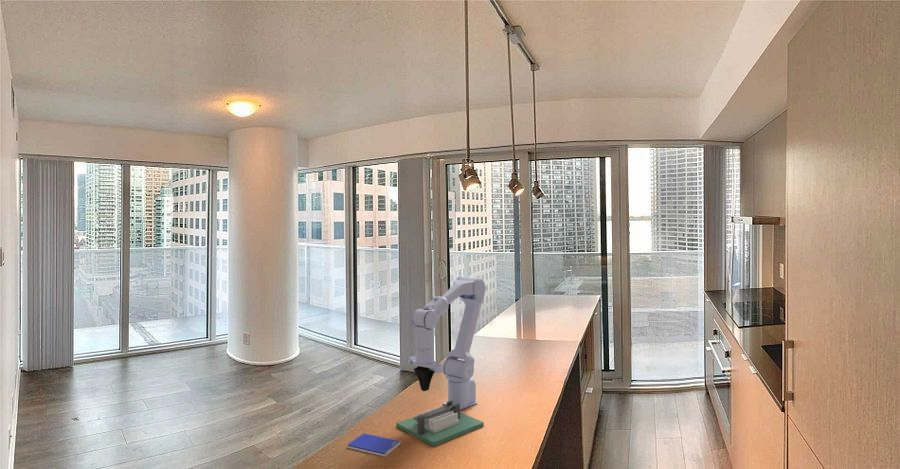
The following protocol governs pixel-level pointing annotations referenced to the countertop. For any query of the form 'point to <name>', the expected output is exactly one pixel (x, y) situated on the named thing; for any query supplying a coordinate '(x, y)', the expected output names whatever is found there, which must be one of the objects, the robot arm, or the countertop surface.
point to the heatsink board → (440, 425)
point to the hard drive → (374, 444)
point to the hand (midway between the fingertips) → (425, 390)
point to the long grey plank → (436, 412)
